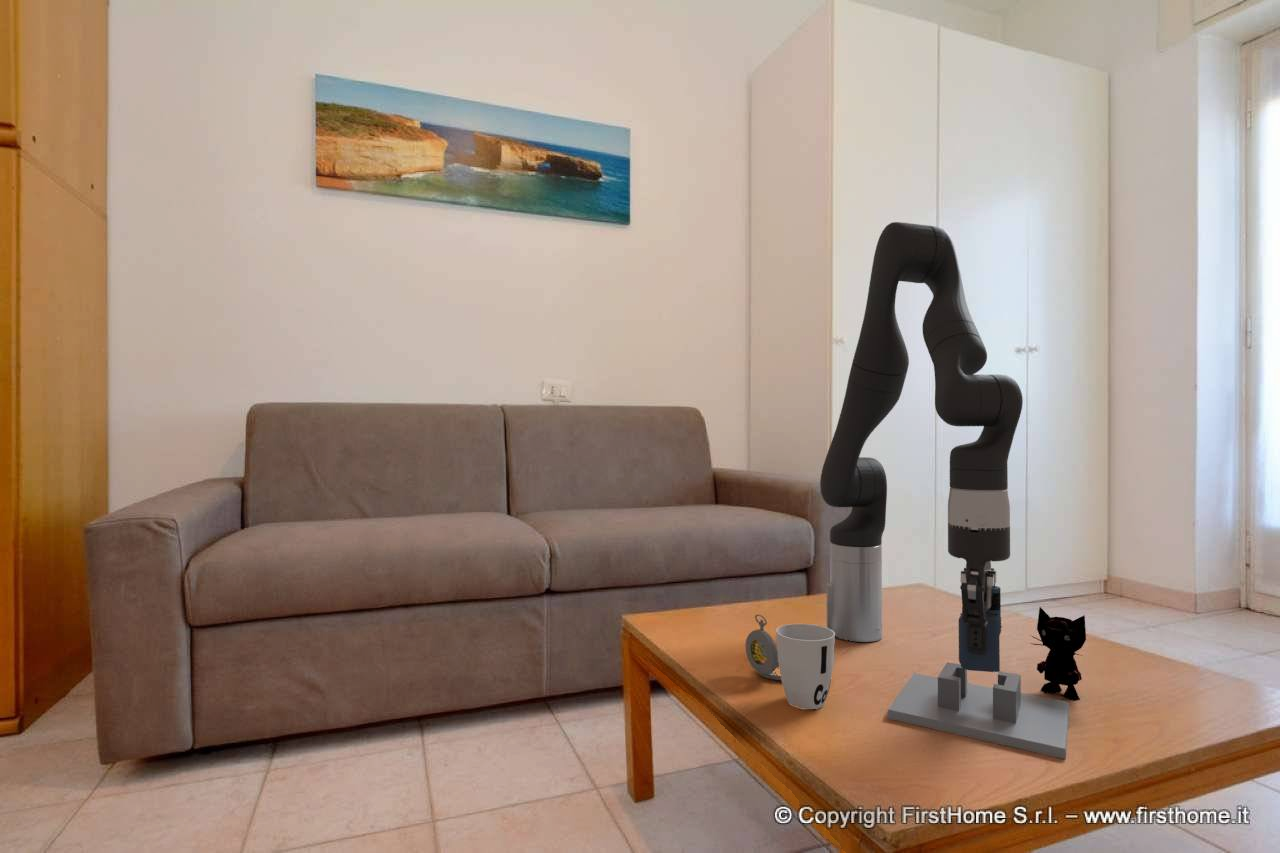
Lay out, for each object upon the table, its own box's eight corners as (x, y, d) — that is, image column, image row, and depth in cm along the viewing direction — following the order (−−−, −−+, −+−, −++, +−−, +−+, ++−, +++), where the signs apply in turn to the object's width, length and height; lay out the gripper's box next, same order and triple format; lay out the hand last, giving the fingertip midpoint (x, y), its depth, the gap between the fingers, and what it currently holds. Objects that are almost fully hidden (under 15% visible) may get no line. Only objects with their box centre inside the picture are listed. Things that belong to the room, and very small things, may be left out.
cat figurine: (1025, 691, 98) (1025, 609, 99) (1045, 680, 103) (1045, 601, 103) (1080, 706, 93) (1079, 620, 93) (1098, 694, 97) (1098, 611, 97)
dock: (887, 718, 89) (887, 679, 89) (914, 680, 103) (913, 646, 103) (1065, 759, 78) (1065, 714, 78) (1069, 711, 91) (1068, 672, 91)
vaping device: (1004, 673, 89) (1003, 582, 89) (961, 670, 90) (960, 581, 90) (998, 666, 91) (998, 578, 91) (957, 663, 92) (956, 576, 92)
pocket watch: (803, 670, 107) (803, 608, 107) (792, 689, 99) (792, 622, 99) (753, 663, 110) (753, 602, 110) (739, 681, 103) (738, 615, 103)
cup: (825, 719, 89) (825, 644, 89) (767, 706, 93) (767, 634, 93) (842, 698, 96) (841, 628, 96) (787, 687, 100) (787, 620, 100)
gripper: (956, 514, 98) (957, 631, 98) (938, 526, 87) (939, 659, 87) (1014, 518, 94) (1015, 640, 94) (1004, 530, 83) (1005, 670, 83)
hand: (978, 648), depth 90 cm, fingers closed on vaping device, 3 cm apart
